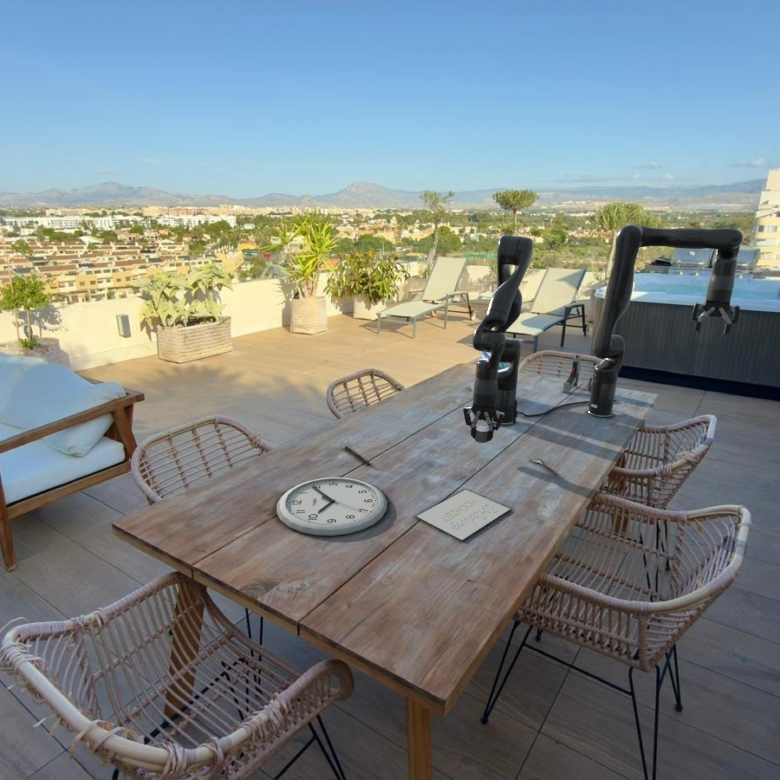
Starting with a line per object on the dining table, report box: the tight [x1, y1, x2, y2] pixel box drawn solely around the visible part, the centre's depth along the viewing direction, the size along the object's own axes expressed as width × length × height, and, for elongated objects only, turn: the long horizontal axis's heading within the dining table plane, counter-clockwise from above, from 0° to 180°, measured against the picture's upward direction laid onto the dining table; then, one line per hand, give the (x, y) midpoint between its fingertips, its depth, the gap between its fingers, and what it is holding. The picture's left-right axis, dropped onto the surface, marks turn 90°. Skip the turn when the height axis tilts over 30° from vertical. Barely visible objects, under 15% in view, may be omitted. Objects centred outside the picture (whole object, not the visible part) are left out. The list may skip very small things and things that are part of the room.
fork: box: [528, 451, 559, 477], centre depth 167 cm, size 3×16×2 cm, turn 15°
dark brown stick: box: [344, 445, 370, 465], centre depth 173 cm, size 15×1×1 cm, turn 34°
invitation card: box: [416, 489, 511, 541], centre depth 140 cm, size 21×1×15 cm
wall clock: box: [276, 476, 388, 537], centre depth 142 cm, size 30×2×30 cm
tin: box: [474, 425, 489, 444], centre depth 175 cm, size 5×5×4 cm
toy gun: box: [562, 354, 582, 394], centre depth 247 cm, size 2×16×15 cm
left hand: (481, 438), depth 176 cm, fingers closed on tin, 4 cm apart
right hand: (711, 333), depth 189 cm, fingers open, 8 cm apart
